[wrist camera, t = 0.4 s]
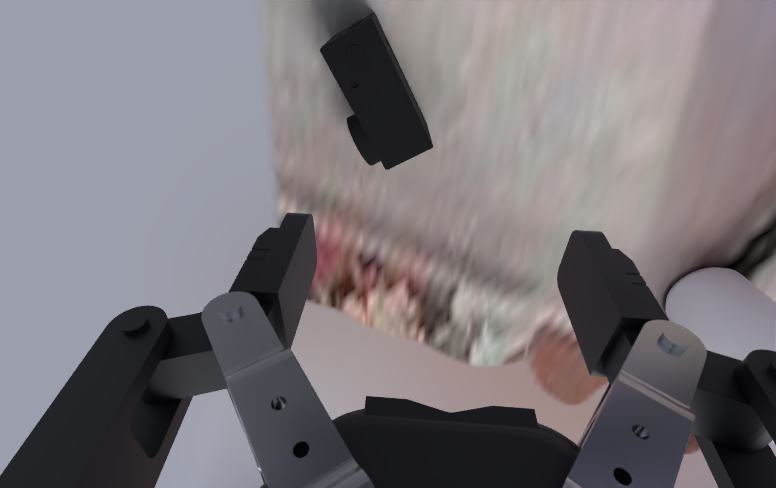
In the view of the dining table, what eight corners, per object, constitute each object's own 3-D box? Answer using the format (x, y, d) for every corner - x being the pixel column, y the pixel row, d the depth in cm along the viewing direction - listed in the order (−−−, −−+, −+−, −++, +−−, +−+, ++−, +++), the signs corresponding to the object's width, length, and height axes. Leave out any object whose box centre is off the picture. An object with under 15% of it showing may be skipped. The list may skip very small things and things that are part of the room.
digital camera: (317, 44, 36) (303, 56, 30) (373, 10, 34) (370, 16, 28) (375, 149, 40) (373, 177, 34) (426, 123, 39) (433, 148, 33)
